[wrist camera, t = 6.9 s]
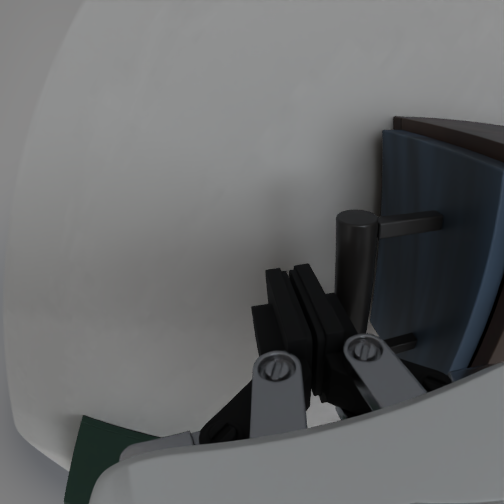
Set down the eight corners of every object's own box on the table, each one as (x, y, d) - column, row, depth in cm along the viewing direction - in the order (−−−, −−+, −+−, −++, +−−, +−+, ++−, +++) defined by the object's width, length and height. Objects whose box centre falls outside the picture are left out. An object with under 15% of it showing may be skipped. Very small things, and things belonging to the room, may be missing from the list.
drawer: (304, 334, 18) (343, 446, 12) (296, 132, 13) (383, 174, 6) (508, 281, 19) (567, 338, 12) (534, 140, 14) (619, 177, 7)
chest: (80, 463, 27) (70, 525, 19) (82, 414, 22) (63, 501, 14) (205, 490, 31) (208, 550, 23) (246, 452, 26) (257, 531, 19)
